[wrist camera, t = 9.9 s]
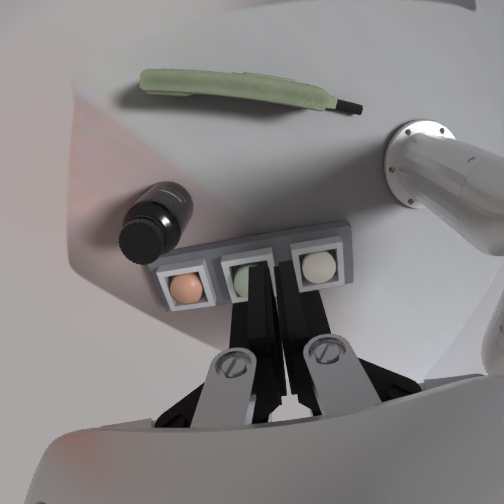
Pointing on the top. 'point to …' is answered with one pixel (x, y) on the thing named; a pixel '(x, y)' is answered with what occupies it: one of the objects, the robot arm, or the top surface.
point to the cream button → (318, 266)
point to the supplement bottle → (155, 223)
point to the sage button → (242, 279)
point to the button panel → (253, 251)
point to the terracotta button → (186, 287)
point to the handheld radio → (241, 88)
